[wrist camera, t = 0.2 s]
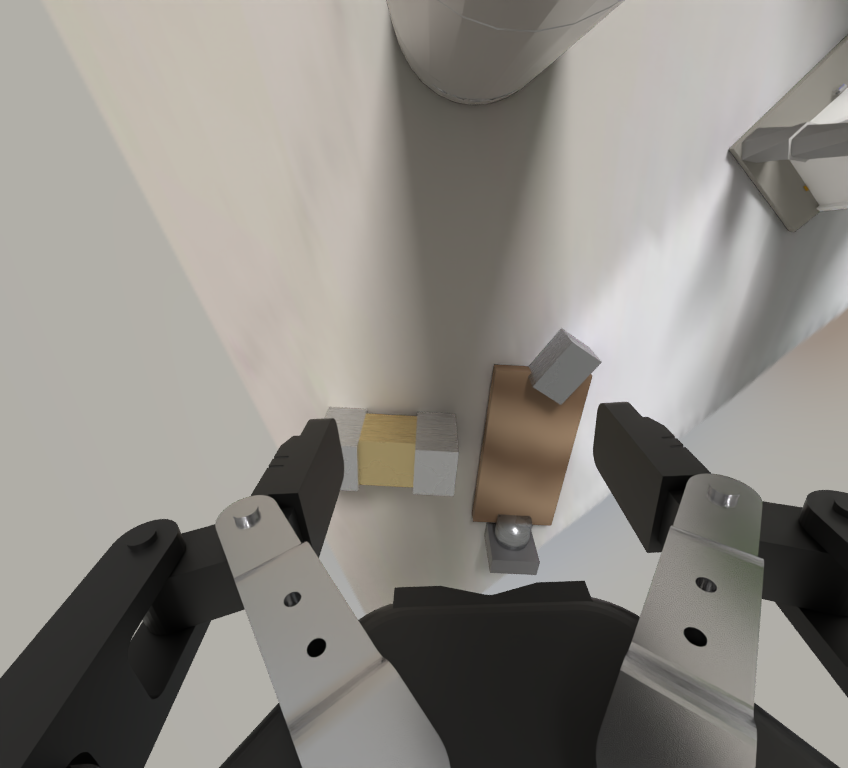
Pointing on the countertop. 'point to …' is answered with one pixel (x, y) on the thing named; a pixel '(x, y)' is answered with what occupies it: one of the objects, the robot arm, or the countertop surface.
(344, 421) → the gray and yellow block
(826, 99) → the skyscraper
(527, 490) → the coupling stand
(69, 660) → the robot arm
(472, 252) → the countertop surface
